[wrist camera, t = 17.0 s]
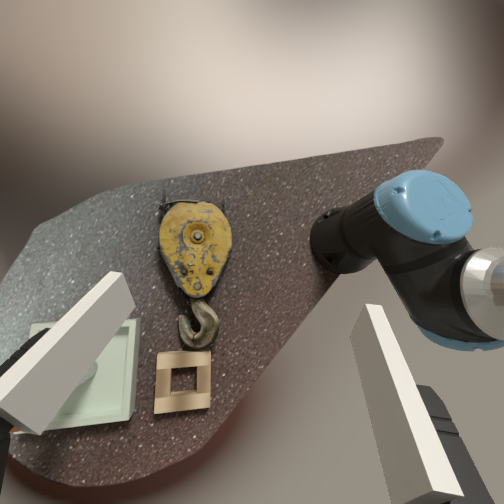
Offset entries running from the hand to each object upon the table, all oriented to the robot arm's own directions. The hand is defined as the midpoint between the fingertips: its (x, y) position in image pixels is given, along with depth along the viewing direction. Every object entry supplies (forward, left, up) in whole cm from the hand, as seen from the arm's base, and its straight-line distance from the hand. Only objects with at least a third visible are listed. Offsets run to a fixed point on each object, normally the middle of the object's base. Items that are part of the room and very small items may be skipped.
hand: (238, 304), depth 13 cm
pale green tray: (+21, +10, -33) cm, 40 cm away
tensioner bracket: (+5, +13, -33) cm, 36 cm away
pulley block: (+4, -6, -33) cm, 34 cm away
